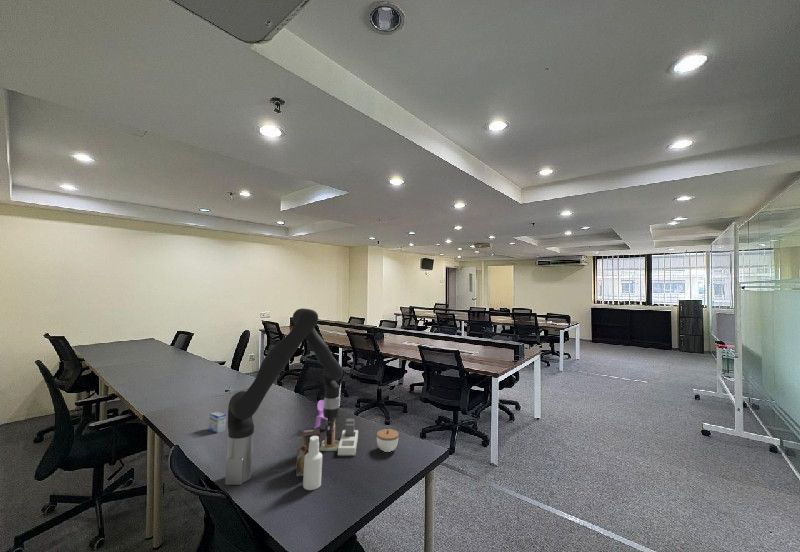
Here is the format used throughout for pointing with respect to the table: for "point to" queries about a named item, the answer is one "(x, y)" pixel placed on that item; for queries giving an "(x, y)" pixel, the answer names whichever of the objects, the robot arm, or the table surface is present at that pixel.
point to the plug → (332, 439)
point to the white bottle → (312, 465)
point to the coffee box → (304, 447)
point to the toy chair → (320, 413)
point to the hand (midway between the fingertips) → (329, 441)
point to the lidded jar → (387, 439)
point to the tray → (322, 448)
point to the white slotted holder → (348, 440)
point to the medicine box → (217, 422)
